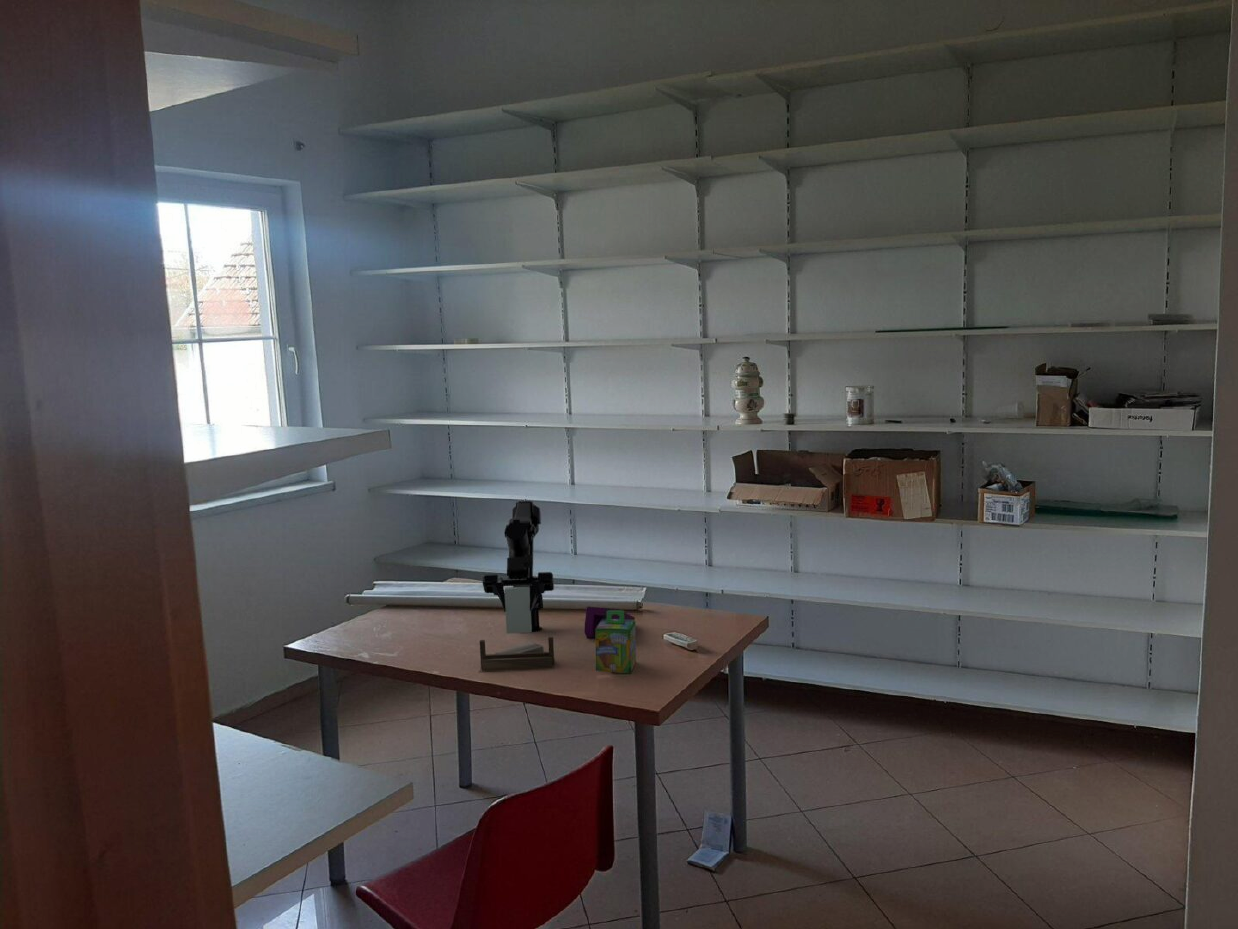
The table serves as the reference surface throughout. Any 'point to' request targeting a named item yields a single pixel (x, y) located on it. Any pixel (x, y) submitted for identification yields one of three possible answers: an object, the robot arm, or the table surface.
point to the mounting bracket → (598, 619)
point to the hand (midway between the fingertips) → (517, 610)
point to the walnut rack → (517, 660)
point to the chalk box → (615, 643)
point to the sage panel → (518, 610)
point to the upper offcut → (523, 649)
